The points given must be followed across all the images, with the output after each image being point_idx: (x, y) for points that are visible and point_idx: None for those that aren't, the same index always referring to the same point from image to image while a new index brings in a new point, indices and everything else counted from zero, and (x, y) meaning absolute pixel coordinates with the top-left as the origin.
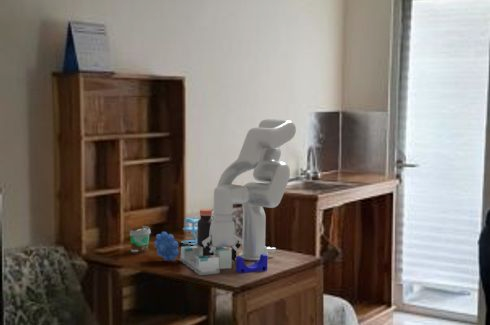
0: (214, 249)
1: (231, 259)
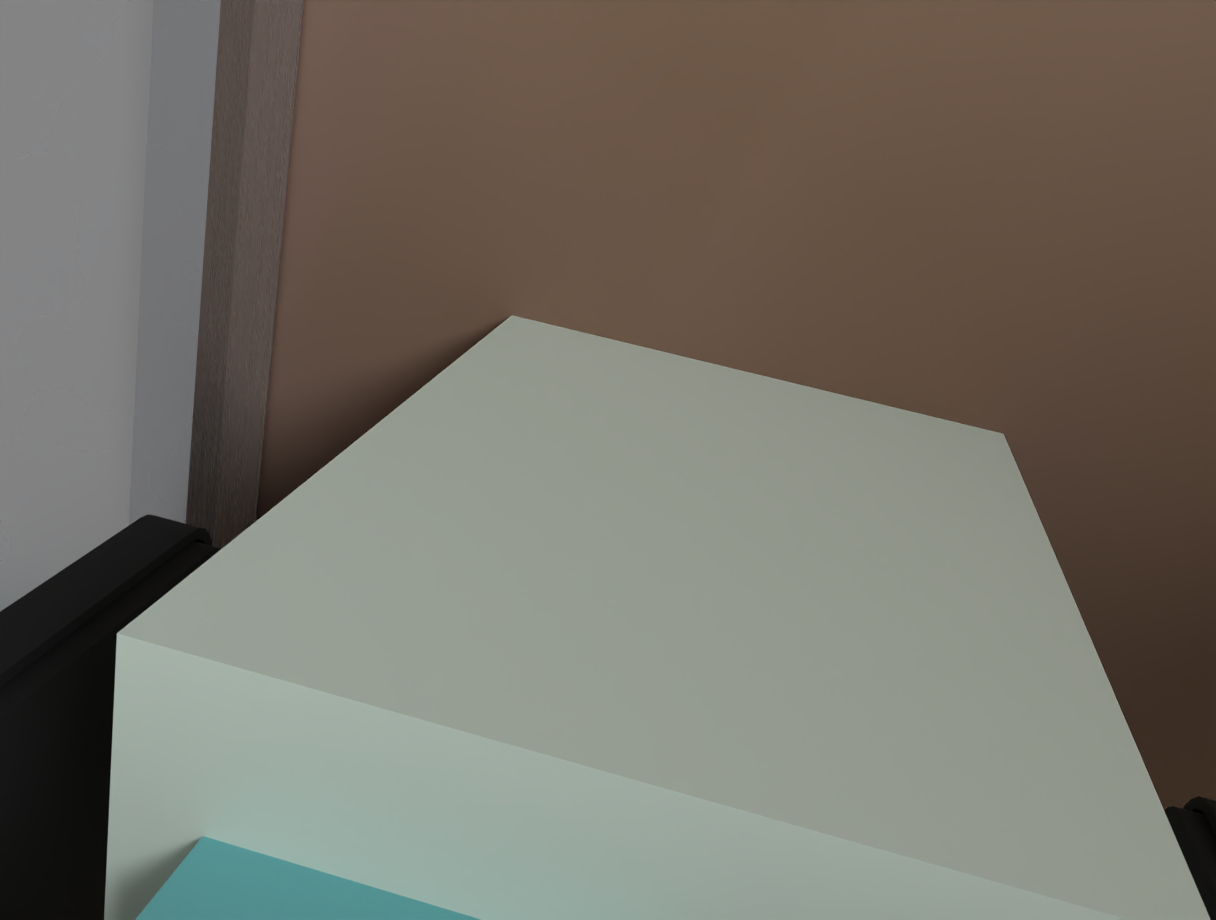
0: (151, 789)
1: None
